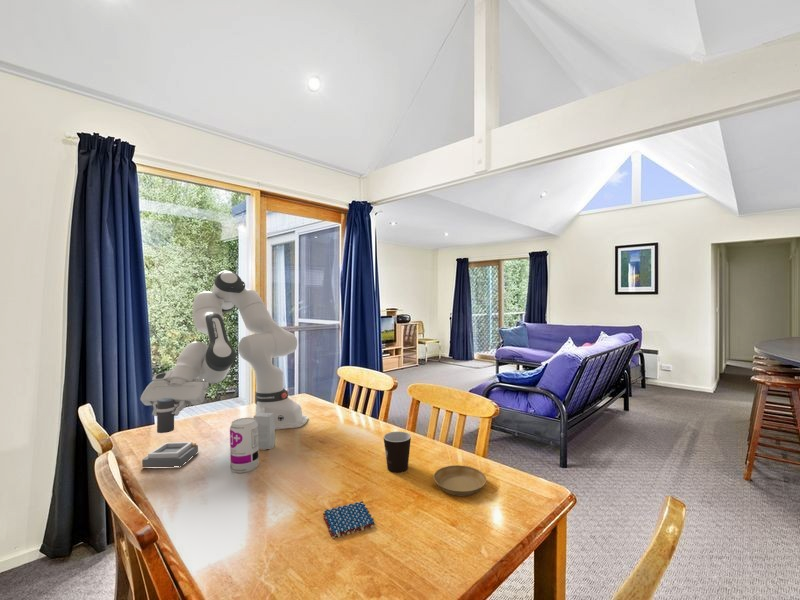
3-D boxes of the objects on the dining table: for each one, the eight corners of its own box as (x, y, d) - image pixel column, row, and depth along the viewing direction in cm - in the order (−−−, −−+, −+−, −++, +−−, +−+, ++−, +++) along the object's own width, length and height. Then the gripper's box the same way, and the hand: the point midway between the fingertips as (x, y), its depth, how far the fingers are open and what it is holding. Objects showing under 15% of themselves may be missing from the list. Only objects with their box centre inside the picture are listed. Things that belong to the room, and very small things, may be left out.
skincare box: (275, 445, 137) (274, 412, 136) (270, 450, 132) (269, 416, 132) (259, 444, 137) (258, 412, 137) (253, 449, 133) (253, 416, 133)
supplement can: (239, 476, 113) (238, 427, 113) (225, 469, 118) (224, 422, 118) (263, 466, 119) (262, 420, 119) (249, 460, 124) (248, 415, 124)
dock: (198, 453, 131) (197, 440, 130) (180, 467, 120) (180, 454, 119) (163, 454, 130) (162, 441, 130) (142, 469, 119) (142, 455, 119)
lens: (177, 428, 127) (177, 397, 127) (168, 433, 122) (168, 401, 122) (162, 428, 126) (163, 398, 127) (153, 433, 121) (153, 401, 122)
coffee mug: (408, 476, 112) (408, 442, 111) (380, 473, 113) (380, 441, 113) (415, 459, 123) (414, 428, 123) (389, 457, 125) (389, 427, 125)
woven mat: (321, 517, 92) (321, 509, 92) (362, 506, 97) (362, 499, 97) (331, 542, 83) (330, 533, 83) (376, 530, 87) (375, 521, 87)
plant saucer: (476, 506, 96) (475, 496, 96) (424, 491, 103) (424, 482, 103) (493, 481, 108) (493, 472, 108) (446, 469, 116) (446, 461, 116)
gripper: (213, 384, 136) (199, 419, 126) (157, 385, 136) (138, 420, 126) (207, 374, 132) (192, 409, 122) (149, 375, 131) (129, 410, 121)
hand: (164, 415), depth 124 cm, fingers closed on lens, 5 cm apart
